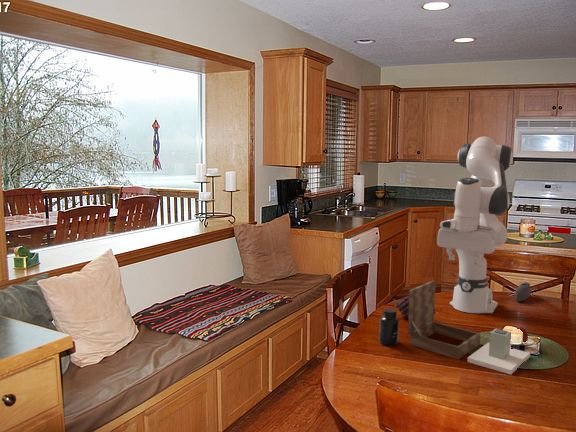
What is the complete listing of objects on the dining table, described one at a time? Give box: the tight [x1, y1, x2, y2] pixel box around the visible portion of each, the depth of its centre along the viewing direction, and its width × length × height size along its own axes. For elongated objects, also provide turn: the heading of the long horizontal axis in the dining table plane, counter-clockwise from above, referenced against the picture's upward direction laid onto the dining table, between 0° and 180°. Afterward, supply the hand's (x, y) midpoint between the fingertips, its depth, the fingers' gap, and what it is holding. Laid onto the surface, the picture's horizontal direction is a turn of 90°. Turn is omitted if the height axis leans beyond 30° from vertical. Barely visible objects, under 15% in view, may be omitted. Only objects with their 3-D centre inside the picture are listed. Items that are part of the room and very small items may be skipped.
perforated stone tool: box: [514, 281, 532, 302], centre depth 239 cm, size 15×5×7 cm, turn 139°
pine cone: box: [394, 295, 436, 319], centre depth 212 cm, size 18×10×10 cm, turn 52°
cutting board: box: [467, 341, 531, 376], centre depth 173 cm, size 18×14×2 cm
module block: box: [488, 328, 511, 359], centre depth 172 cm, size 5×5×8 cm
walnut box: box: [407, 279, 482, 360], centre depth 184 cm, size 18×19×20 cm
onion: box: [515, 324, 529, 343], centre depth 183 cm, size 6×6×8 cm
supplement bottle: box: [378, 308, 400, 346], centre depth 186 cm, size 7×7×12 cm
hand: (464, 262), depth 186 cm, fingers open, 8 cm apart
